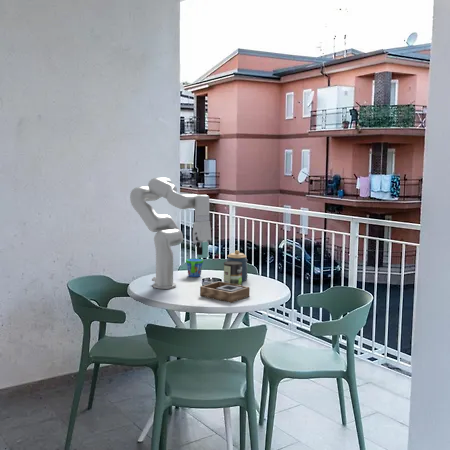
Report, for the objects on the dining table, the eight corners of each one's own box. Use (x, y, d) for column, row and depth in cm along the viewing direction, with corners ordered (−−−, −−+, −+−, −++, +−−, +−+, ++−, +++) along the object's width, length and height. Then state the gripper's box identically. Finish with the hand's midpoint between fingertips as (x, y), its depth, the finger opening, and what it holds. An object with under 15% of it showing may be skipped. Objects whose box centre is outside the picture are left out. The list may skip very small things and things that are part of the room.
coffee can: (244, 286, 288) (244, 261, 287) (238, 290, 279) (238, 265, 277) (227, 284, 292) (227, 260, 290) (220, 288, 282) (221, 263, 281)
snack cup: (189, 273, 321) (189, 256, 319) (205, 273, 319) (205, 257, 317) (182, 278, 305) (182, 261, 304) (199, 279, 303) (200, 262, 302)
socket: (215, 295, 263) (216, 288, 263) (227, 291, 271) (227, 284, 271) (231, 299, 257) (231, 291, 257) (242, 295, 265) (243, 287, 265)
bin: (200, 296, 266) (200, 286, 265) (218, 290, 278) (218, 281, 278) (231, 302, 254) (231, 293, 253) (249, 296, 267) (249, 287, 266)
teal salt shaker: (197, 257, 266) (196, 240, 265) (202, 256, 269) (201, 239, 268) (203, 258, 264) (202, 240, 263) (207, 256, 267) (207, 239, 266)
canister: (231, 276, 314) (231, 247, 312) (250, 278, 309) (251, 249, 307) (222, 280, 302) (222, 250, 300) (242, 282, 297) (242, 252, 295)
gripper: (206, 217, 273) (207, 251, 275) (185, 219, 260) (186, 255, 262) (217, 218, 269) (218, 252, 271) (197, 220, 255) (197, 256, 257)
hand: (202, 253), depth 266 cm, fingers closed on teal salt shaker, 4 cm apart
